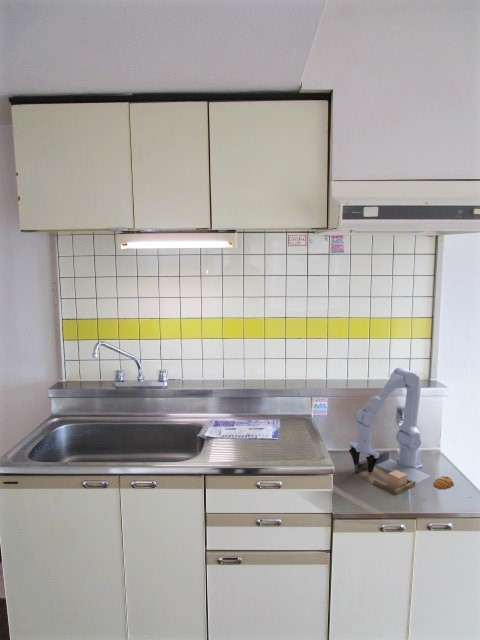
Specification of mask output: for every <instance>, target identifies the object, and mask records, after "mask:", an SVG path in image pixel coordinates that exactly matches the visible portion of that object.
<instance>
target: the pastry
mask: <svg viewBox="0 0 480 640" xmlns="http://www.w3.org/2000/svg"><path fill="white" fill-rule="evenodd" d="M432 485H433V487H434V488H435V489H437V490H447V489H450V488H452V487H453V486H454V485H455V482H454V481H453V479H452V478H450V476H447V475H446V476H444V475H442V476H440V477H439V478H436V479H435V480H434V481H433V484H432Z"/></svg>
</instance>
